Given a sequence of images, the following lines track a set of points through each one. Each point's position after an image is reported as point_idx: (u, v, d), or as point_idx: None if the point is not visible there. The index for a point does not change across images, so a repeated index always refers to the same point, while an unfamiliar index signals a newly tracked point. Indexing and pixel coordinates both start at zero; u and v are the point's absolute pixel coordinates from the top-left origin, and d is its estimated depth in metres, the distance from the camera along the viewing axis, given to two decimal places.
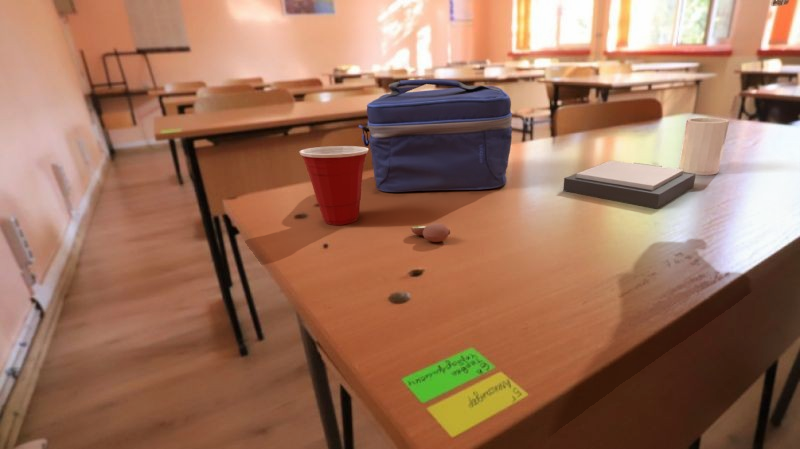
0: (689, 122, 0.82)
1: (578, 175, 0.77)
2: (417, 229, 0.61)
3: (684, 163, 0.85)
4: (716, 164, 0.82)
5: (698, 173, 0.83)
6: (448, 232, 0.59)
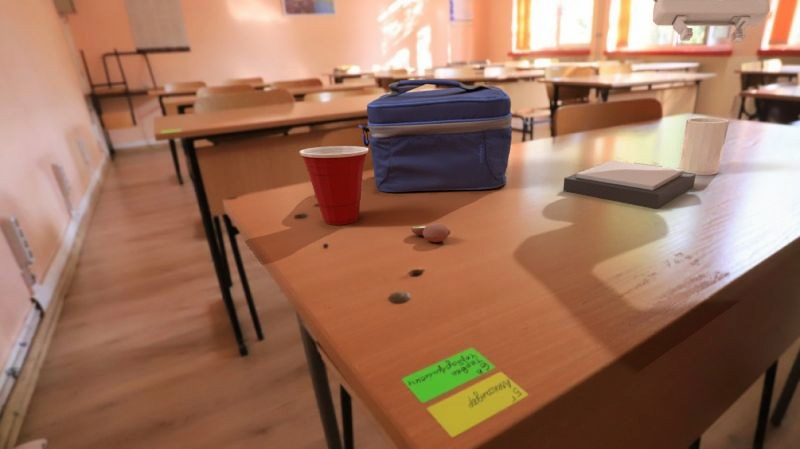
0: (689, 122, 0.82)
1: (578, 175, 0.77)
2: (417, 229, 0.61)
3: (684, 163, 0.85)
4: (716, 164, 0.82)
5: (698, 173, 0.83)
6: (448, 232, 0.59)
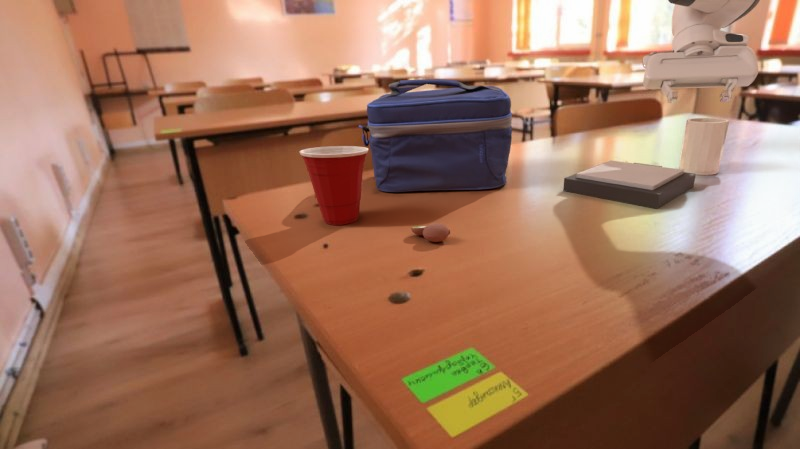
0: (689, 122, 0.82)
1: (578, 175, 0.77)
2: (417, 229, 0.61)
3: (684, 163, 0.85)
4: (716, 164, 0.82)
5: (698, 173, 0.83)
6: (448, 232, 0.59)
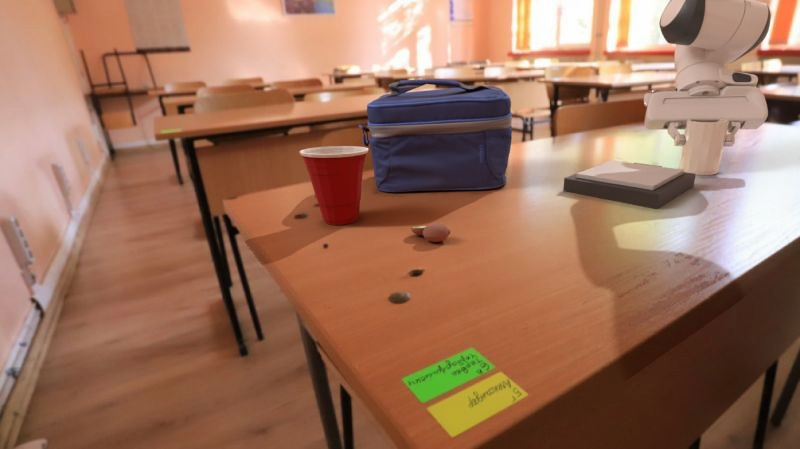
0: (689, 122, 0.82)
1: (578, 175, 0.77)
2: (417, 229, 0.61)
3: (684, 163, 0.85)
4: (716, 164, 0.82)
5: (698, 173, 0.83)
6: (448, 232, 0.59)
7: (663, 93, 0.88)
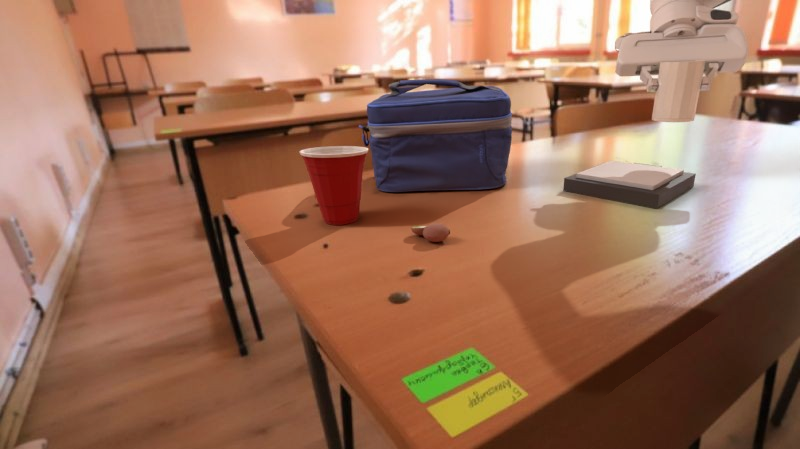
0: (662, 63, 0.74)
1: (578, 175, 0.77)
2: (417, 229, 0.61)
3: (657, 110, 0.77)
4: (691, 110, 0.74)
5: (672, 120, 0.75)
6: (448, 232, 0.59)
7: (636, 35, 0.80)
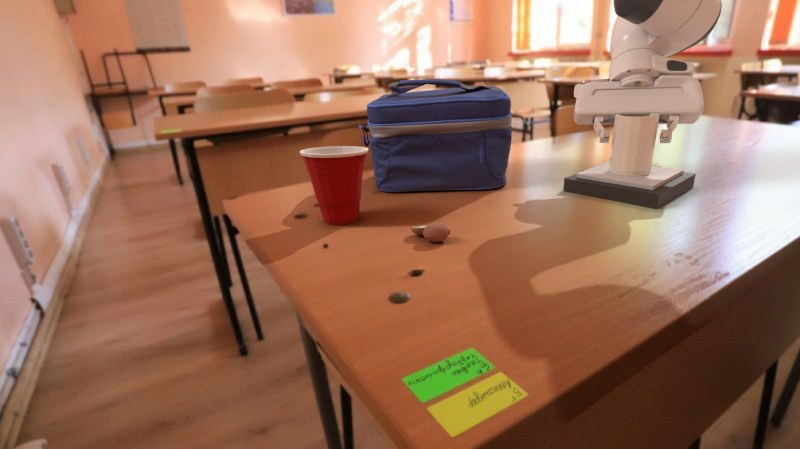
0: (616, 116, 0.73)
1: (578, 175, 0.77)
2: (417, 229, 0.61)
3: (613, 163, 0.75)
4: (646, 164, 0.73)
5: (627, 174, 0.74)
6: (448, 232, 0.59)
7: (593, 84, 0.79)
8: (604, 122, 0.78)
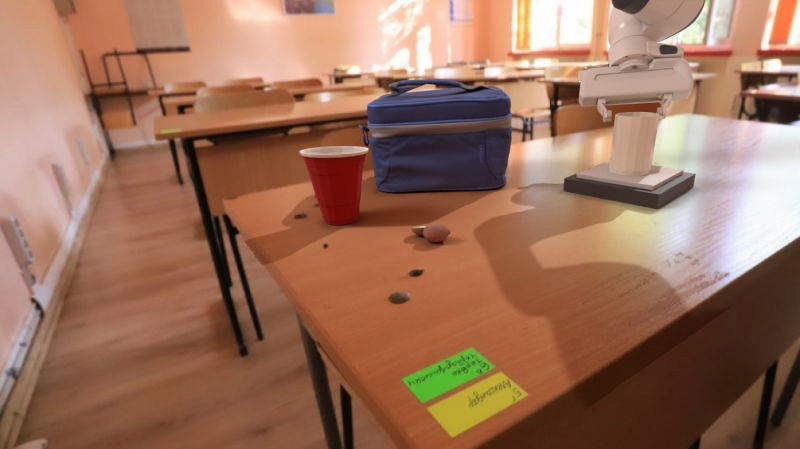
0: (616, 116, 0.73)
1: (578, 175, 0.77)
2: (417, 229, 0.61)
3: (613, 163, 0.75)
4: (646, 164, 0.73)
5: (627, 174, 0.74)
6: (448, 232, 0.59)
7: (595, 69, 0.89)
8: (606, 103, 0.89)
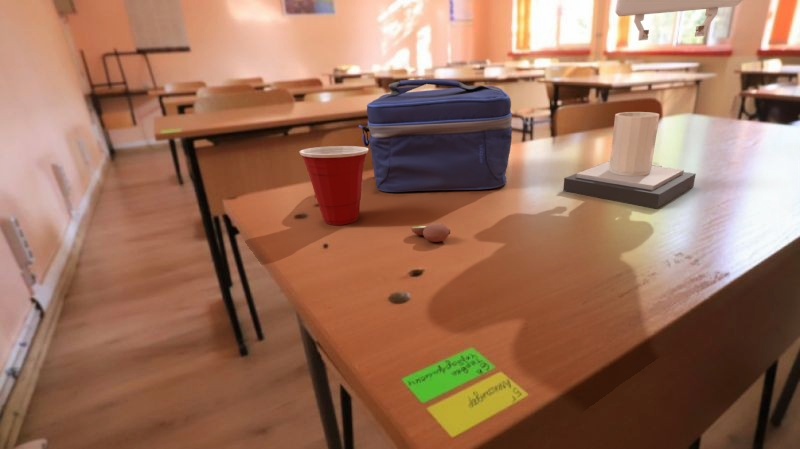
0: (616, 116, 0.73)
1: (578, 175, 0.77)
2: (417, 229, 0.61)
3: (613, 163, 0.75)
4: (646, 164, 0.73)
5: (627, 174, 0.74)
6: (448, 232, 0.59)
7: None
8: (645, 13, 0.82)
